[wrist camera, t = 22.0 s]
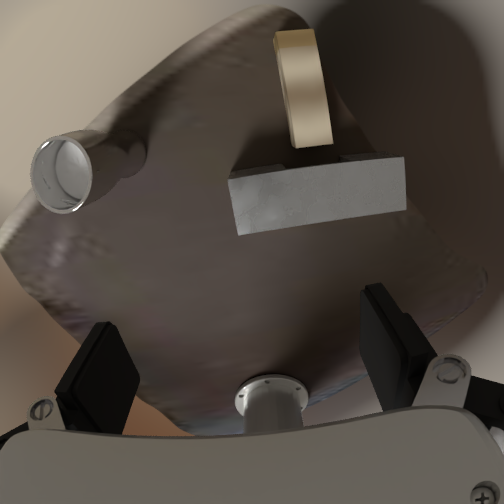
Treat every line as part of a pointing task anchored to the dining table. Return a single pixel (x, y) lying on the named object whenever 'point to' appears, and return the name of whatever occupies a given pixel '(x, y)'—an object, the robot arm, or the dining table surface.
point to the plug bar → (303, 88)
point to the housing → (317, 191)
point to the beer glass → (83, 167)
